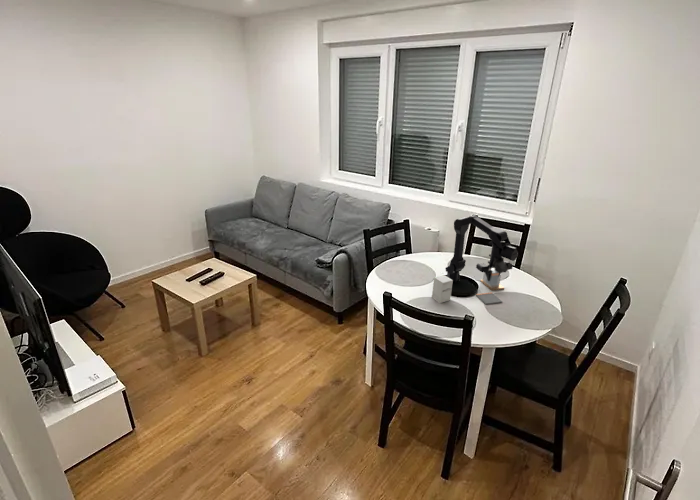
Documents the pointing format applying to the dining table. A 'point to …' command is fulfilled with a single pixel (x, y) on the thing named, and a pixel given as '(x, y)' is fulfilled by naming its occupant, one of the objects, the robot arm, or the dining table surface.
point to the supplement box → (442, 288)
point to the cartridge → (493, 277)
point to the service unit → (492, 287)
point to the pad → (488, 298)
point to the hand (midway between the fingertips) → (491, 280)
